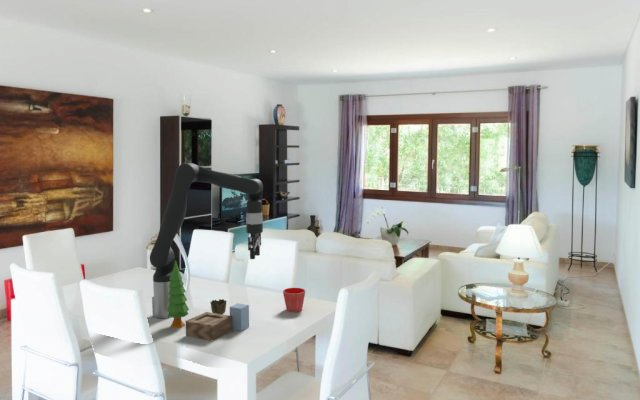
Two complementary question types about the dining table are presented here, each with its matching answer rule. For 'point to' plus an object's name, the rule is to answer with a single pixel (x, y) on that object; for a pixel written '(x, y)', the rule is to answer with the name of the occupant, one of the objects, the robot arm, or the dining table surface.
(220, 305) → the cup
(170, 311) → the decorative tree
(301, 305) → the flower pot
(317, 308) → the dining table surface
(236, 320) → the blue-grey square-topped block
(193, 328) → the square wooden tray
